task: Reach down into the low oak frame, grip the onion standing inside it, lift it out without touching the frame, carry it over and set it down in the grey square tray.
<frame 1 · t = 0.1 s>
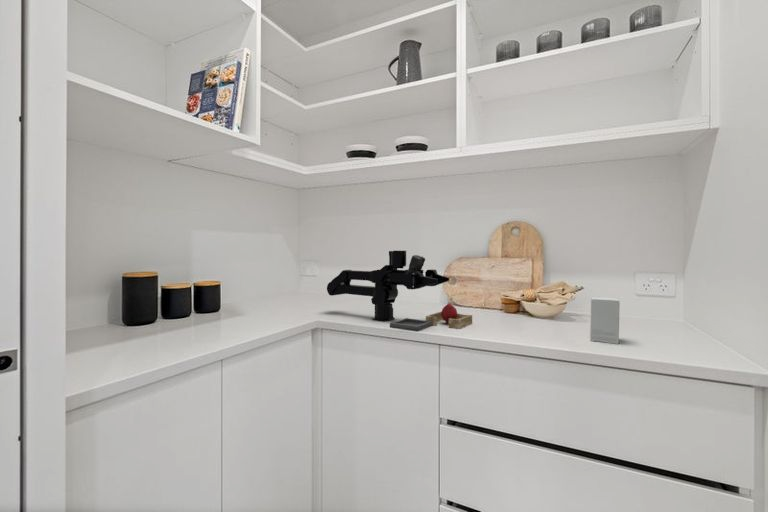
hand: (443, 280, 127), 17 cm above the worktop, tool horizontal, fingers open, 9 cm apart
grey square tray: (411, 326, 129), on the worktop
onion: (449, 324, 134), resting in oak frame
supplement box: (604, 340, 110), on the worktop
oak frame: (449, 323, 134), on the worktop
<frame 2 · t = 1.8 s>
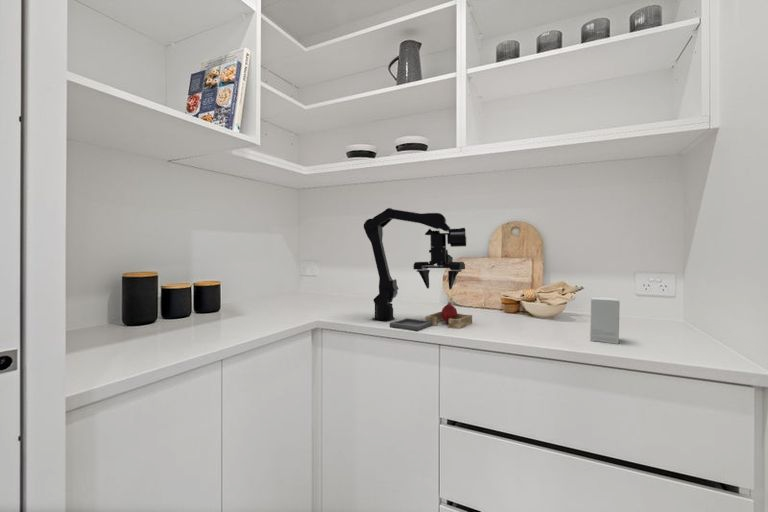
hand: (439, 288, 136), 13 cm above the worktop, tool pointing down, fingers open, 9 cm apart
nothing on the worktop moved.
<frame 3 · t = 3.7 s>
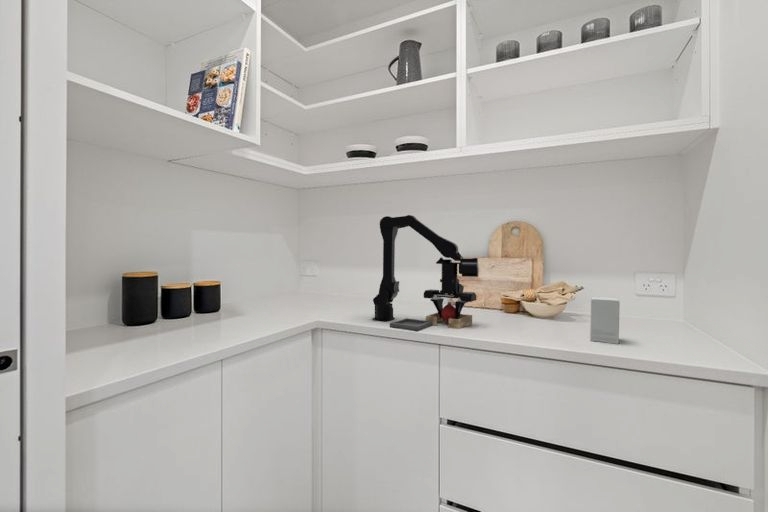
hand: (449, 318, 134), 2 cm above the worktop, tool pointing down, fingers closed on onion, 6 cm apart
onion: (449, 324, 134), resting in oak frame, touching gripper
everything else where it was.
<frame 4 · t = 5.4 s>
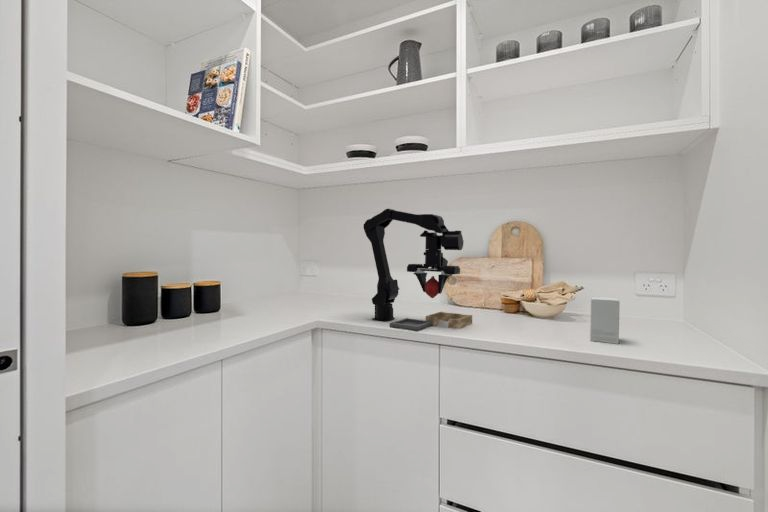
hand: (432, 292, 132), 12 cm above the worktop, tool pointing down, fingers closed on onion, 6 cm apart
onion: (432, 298, 132), point 9 cm above the worktop, touching gripper
everything else where it was.
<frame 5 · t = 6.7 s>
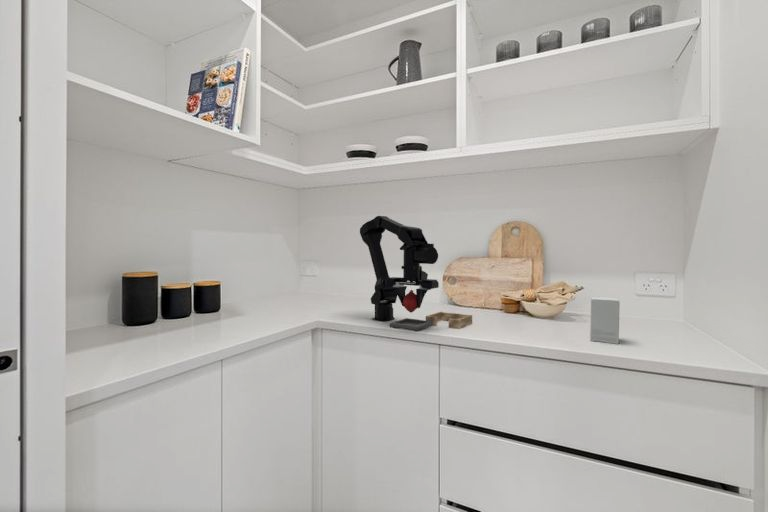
hand: (411, 307, 129), 7 cm above the worktop, tool pointing down, fingers closed on onion, 6 cm apart
onion: (411, 313, 129), point 5 cm above the worktop, touching gripper
everything else where it was.
when the fingers open (4 cm above the worktop, at t = 7.5 s): onion drops 2 cm, resting on grey square tray.
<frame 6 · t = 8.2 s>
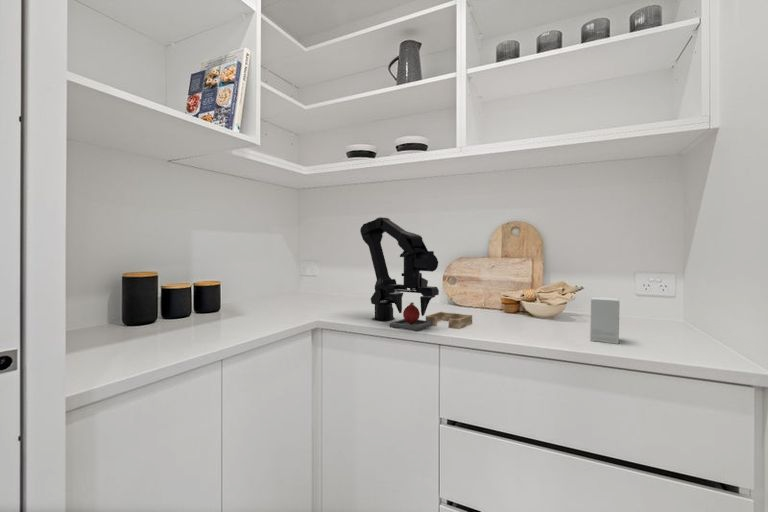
hand: (411, 314, 129), 4 cm above the worktop, tool pointing down, fingers open, 9 cm apart
onion: (411, 325, 129), resting on grey square tray
everything else where it was.
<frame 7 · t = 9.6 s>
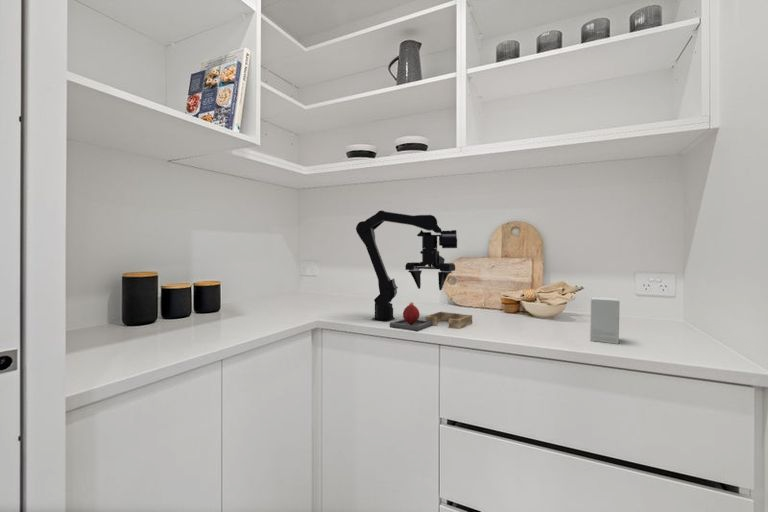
hand: (429, 289, 139), 12 cm above the worktop, tool pointing down, fingers open, 9 cm apart
nothing on the worktop moved.
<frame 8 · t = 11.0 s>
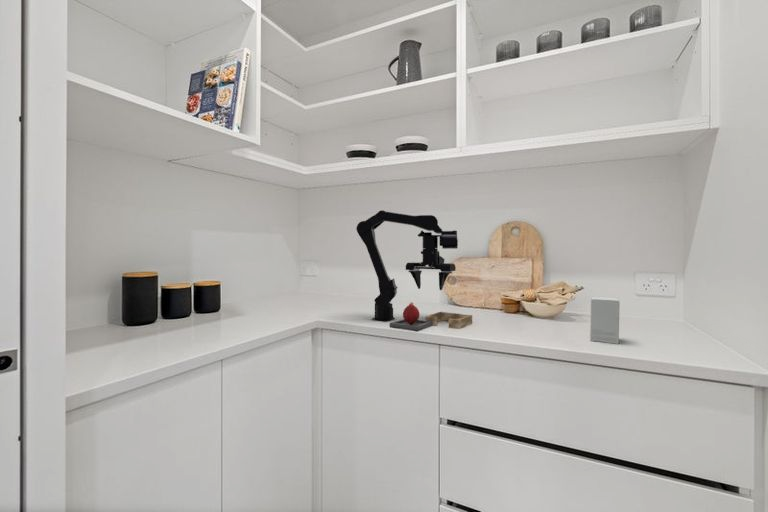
hand: (429, 289, 139), 12 cm above the worktop, tool pointing down, fingers open, 9 cm apart
nothing on the worktop moved.
at the end: onion inside the target area on the grey square tray (0.1 cm from its centre), point 0.3 cm above the grey square tray's base; the gripper is holding nothing; onion touching grey square tray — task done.
